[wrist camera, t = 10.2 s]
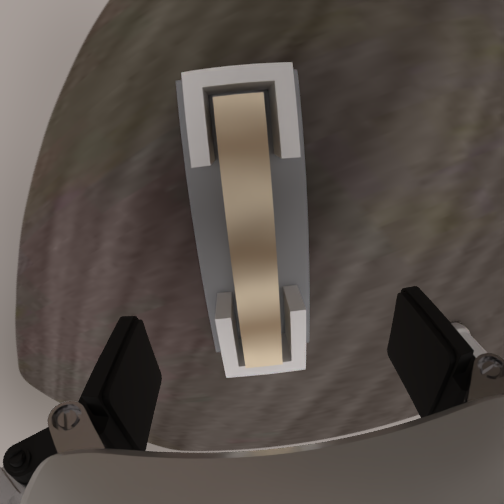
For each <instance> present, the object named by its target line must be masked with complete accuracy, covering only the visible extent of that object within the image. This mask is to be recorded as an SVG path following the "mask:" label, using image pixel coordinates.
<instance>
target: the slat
mask: <svg viewBox="0 0 504 504" xmlns="http://www.w3.org/2000/svg"><path fill="white" fill-rule="evenodd" d="M213 106H214V116H215V126H216V135H217V145H218V154H219V163H220V172H221V181H222V190H223V198H224V207H225V215H226V224H227V232H228V240H229V248H230V256H231V264H232V272H233V280H234V287H235V295H236V302H237V310H238V317H239V324H240V332H241V339H242V346H243V353H244V360H245V367H246V368H254V367H264V366H273V365H281V364H283V361H282V340H281V320H280V302H279V284H278V268H277V253H276V238H275V223H274V209H273V196H272V183H271V171H270V158H269V147H268V135H267V124H266V113H265V102H264V92H258V93H246V94H235V95H225V96H216V97H213Z"/></svg>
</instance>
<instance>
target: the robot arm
mask: <svg viewBox="0 0 504 504" xmlns="http://www.w3.org/2000/svg"><path fill="white" fill-rule="evenodd" d="M387 352H388V356H389V358H390V360H391V362H392V364H393V365H394V367H395V369H396V371H397V373H398V375H399V376H400V378H401V380H402V382H403V384H404V386H405V388H406V390H407V391H408V393H409V395H410V397H411V399H412V401H413V403H414V405H415V407H416V409H417V411H418V413H419V415H420V416H421V418H419V419H416V420H413V421H410V422H407V423H404V424H400V425H396V426H393V427H389V428H385V429H382V430H378V431H374V432H370V433H365V434H361V435H357V436H352V437H347V438H343V439H338V440H332V441H327V442H322V443H315V444H308V445H302V446H294V447H287V448H278V449H268V450H256V451H242V452H221V453H180V452H151V451H145V450H146V446H147V441H148V437H149V432H150V428H151V423H152V419H153V414H154V410H155V406H156V402H157V397H158V393H159V389H160V385H161V380H162V377H161V372H160V369H159V366H158V364H157V361H156V358H155V356H154V353H153V350H152V347H151V344H150V341H149V339H148V336H147V333H146V330H145V327H144V324H143V321H142V320H138V318H137V317H136V316H123V317H120V319H119V321H118V323H117V324H116V326H115V328H114V330H113V332H112V334H111V336H110V338H109V340H108V342H107V344H106V346H105V348H104V350H103V352H102V354H101V355H100V357H99V359H98V361H97V363H96V365H95V367H94V369H93V371H92V373H91V376H90V378H89V380H88V382H87V384H86V386H85V388H84V391H83V393H82V395H81V397H80V399H79V402H76V401H65V402H62V403H60V404H58V405H57V406H55V407H54V408H53V409H52V410H51V412H50V414H49V416H48V426H49V427H48V428H46V429H44V430H42V431H40V432H38V433H36V434H34V435H32V436H30V437H28V438H26V439H25V440H23V441H21V442H19V443H17V444H15V445H13V446H12V447H10V448H9V449H8V450H7V451H6V453H5V455H4V459H3V465H4V466H3V467H2V468H1V467H0V504H504V359H503V358H501V357H500V356H498V355H495V354H492V353H484V354H481V355H479V356H477V358H476V357H475V356H474V355H473V353H474V350H473V349H472V347H471V346H470V345H469V344H468V343H467V341H466V340H465V339H464V338H463V337H462V336H461V334H460V333H459V332H458V331H457V330H456V328H455V327H454V326H453V325H452V324H451V323H450V322H449V320H448V319H447V318H446V317H445V316H444V315H443V314H442V313H441V311H440V310H439V309H438V308H437V307H436V306H435V305H434V304H433V303H432V301H431V300H430V299H429V298H428V297H427V296H426V295H425V294H424V293H423V292H422V291H421V290H420V289H419V287H417V286H413V287H408V288H403V289H402V290H401V293H398V295H397V300H396V306H395V312H394V318H393V323H392V328H391V333H390V338H389V343H388V348H387Z"/></svg>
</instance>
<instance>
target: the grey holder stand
mask: <svg viewBox="0 0 504 504" xmlns="http://www.w3.org/2000/svg"><path fill="white" fill-rule="evenodd" d="M181 75H182V80H179V81H176V90H177V101H178V111H179V120H180V129H181V138H182V147H183V155H184V163H185V171H186V178H187V186H188V193H189V200H190V207H191V214H192V220H193V227H194V233H195V240H196V246H197V252H198V258H199V264H200V270H201V276H202V281H203V287H204V292H205V298H206V303H207V308H208V314H209V319H210V324H211V329H212V334H213V339H214V344H215V349H216V352H221V354H222V359H223V364H224V369H225V374H226V378H230V377H242V376H253V375H263V374H273V373H281V372H289V371H297V370H304V369H306V343H308V342H309V324H310V286H309V235H308V208H307V186H306V168H305V153H304V139H303V125H302V113H301V102H300V92H299V81H298V72H297V70H293V64H292V62H282V63H260V64H246V65H234V66H224V67H216V68H208V69H200V70H194V71H187V72H181ZM258 92H264V102H265V113H266V124H267V135H268V147H269V158H270V171H271V183H272V196H273V209H274V223H275V238H276V253H277V268H278V284H279V302H280V320H281V340H282V361H283V364H281V365H273V366H264V367H254V368H246V367H245V360H244V353H243V346H242V339H241V332H240V324H239V317H238V310H237V302H236V295H235V287H234V280H233V272H232V264H231V256H230V248H229V240H228V232H227V224H226V215H225V207H224V198H223V190H222V181H221V172H220V163H219V154H218V145H217V135H216V126H215V116H214V106H213V97H216V96H225V95H235V94H246V93H258Z"/></svg>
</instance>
